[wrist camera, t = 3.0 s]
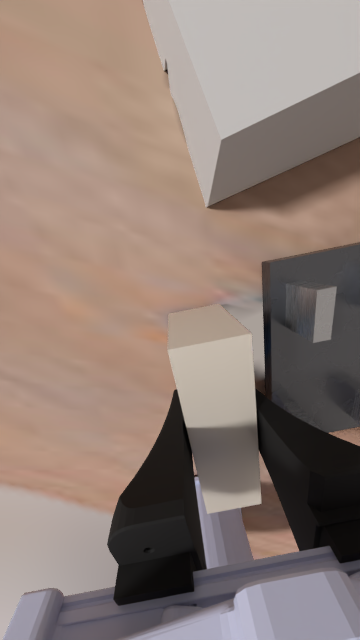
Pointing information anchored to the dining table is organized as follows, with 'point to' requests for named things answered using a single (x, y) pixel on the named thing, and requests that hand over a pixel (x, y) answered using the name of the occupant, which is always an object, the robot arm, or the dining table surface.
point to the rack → (314, 336)
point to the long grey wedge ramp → (259, 83)
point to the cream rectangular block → (218, 403)
